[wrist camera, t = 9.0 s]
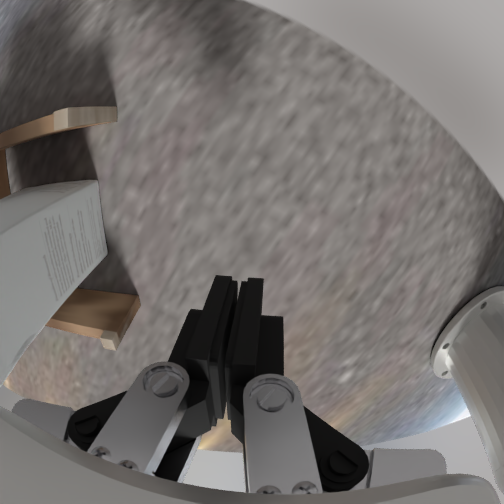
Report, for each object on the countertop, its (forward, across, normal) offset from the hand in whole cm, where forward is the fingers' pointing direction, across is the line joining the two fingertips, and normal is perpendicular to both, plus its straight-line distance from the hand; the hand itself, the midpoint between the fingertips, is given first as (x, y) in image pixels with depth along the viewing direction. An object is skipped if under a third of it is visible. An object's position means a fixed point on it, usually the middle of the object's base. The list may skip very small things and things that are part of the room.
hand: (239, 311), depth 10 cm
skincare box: (+8, +14, -1) cm, 17 cm away
